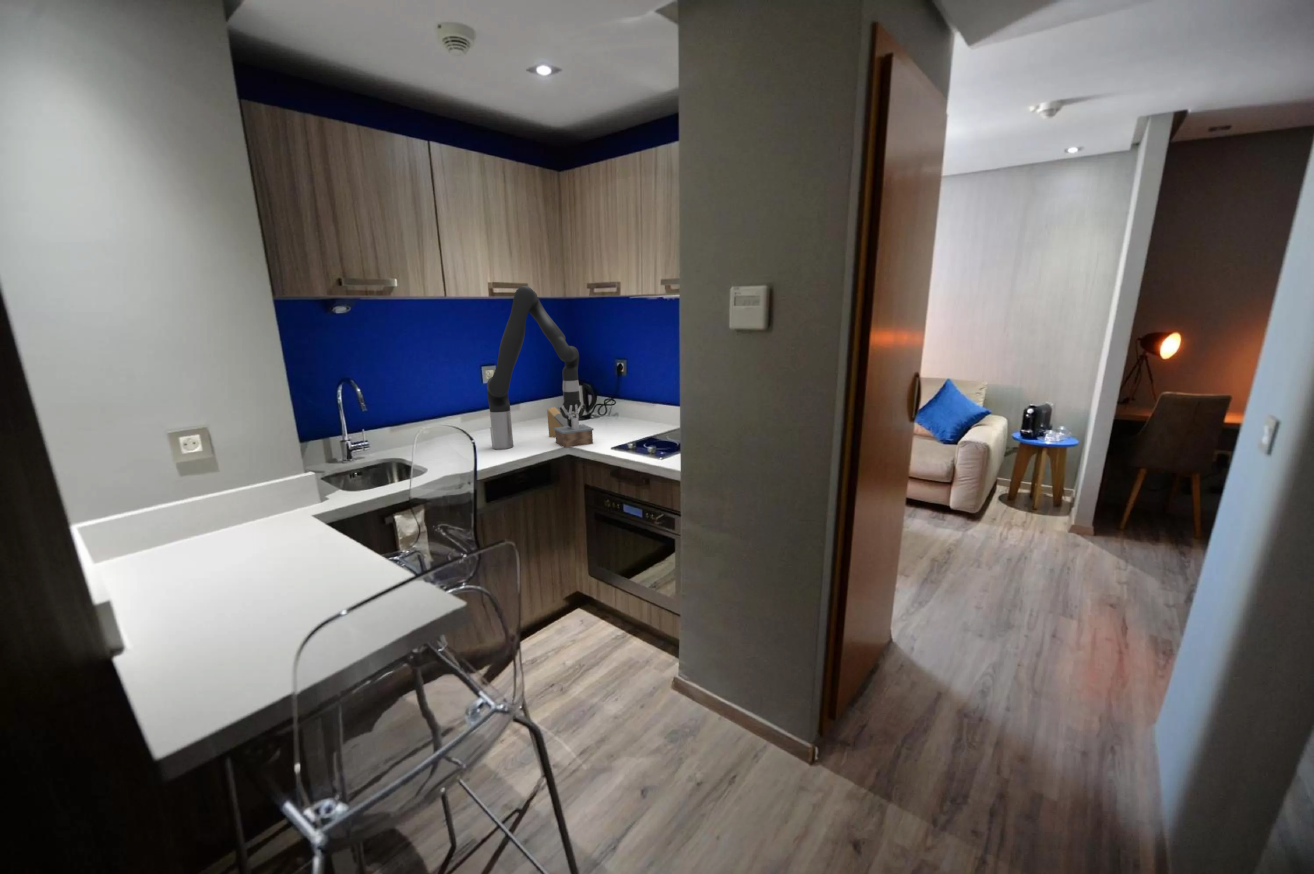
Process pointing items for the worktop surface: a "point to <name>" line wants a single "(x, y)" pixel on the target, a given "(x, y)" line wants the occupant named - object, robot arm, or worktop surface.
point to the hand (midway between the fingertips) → (573, 426)
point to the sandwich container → (555, 420)
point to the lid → (573, 427)
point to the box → (574, 438)
